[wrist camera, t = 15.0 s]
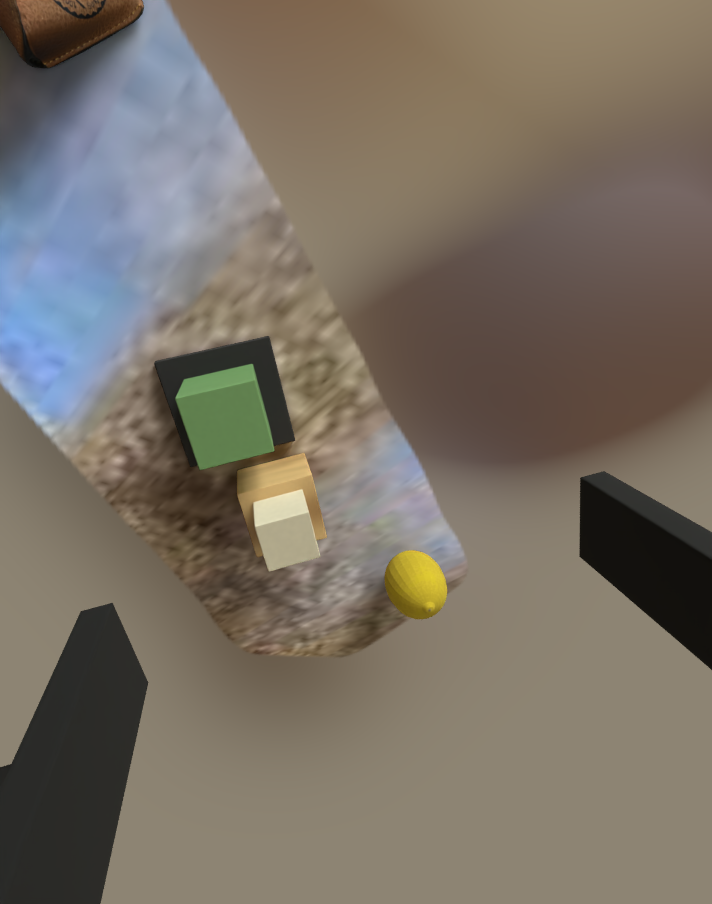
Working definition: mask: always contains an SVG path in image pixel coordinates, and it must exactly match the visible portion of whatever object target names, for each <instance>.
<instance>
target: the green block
mask: <svg viewBox="0 0 712 904" xmlns="http://www.w3.org/2000/svg"><path fill="white" fill-rule="evenodd" d="M175 400H176V403H177V406H178V409H179V412H180V415H181V418H182V421H183V423H184V426H185V429H186V432H187V435H188V438H189V441H190V444H191V447H192V450H193V453H194V456H195V459H196V461H197V464H198V467H199V470H203V469H207V468H211V467H215V466H219V465H223V464H227V463H231V462H235V461H239V460H243V459H246V458H250V457H254V456H258V455H262V454H266V453H270V452H274V445H273V440H272V435H271V430H270V426H269V422H268V418H267V414H266V411H265V407H264V403H263V400H262V396H261V392H260V389H259V385H258V381H257V377H256V374H255V370H254V366H253V364H249V365H244V366H240V367H236V368H231V369H227V370H223V371H218V372H214V373H210V374H205V375H201V376H197V377H192V378H188V379H184V380H183V383H182V385H181V387H180V389H179V391H178V393H177V396H176V398H175Z"/></svg>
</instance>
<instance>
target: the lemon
mask: <svg viewBox="0 0 712 904" xmlns="http://www.w3.org/2000/svg"><path fill="white" fill-rule="evenodd" d="M385 588H386V591H387V593H388V596H389V598H390V600H391V602H392V603H393V604H394V605H395V607H396V608H397V609H398V610H399V611H400V612H401V613H403V614H404V615H406V616H408V617H410V618H414V619H426V618H429V617H432V616H433V615H435V614H436V613H438V612H439V611H440V609H441V608H442V606H443V605H444V603H445V601H446V596H447V586H446V581H445V577H444V575H443V573H442V571H441V569H440V567H439V565H438V564H437V563H436V562H435V561H434V560H433V559H432V558H431V557H430V556H428V555H426V554H425V553H423V552H419V551H414V550H411V551H405V552H402V553H399V554H397V555H396V556H395V557H394V558H393V559H392V560H391V561H390V562H389V564H388V566H387V568H386V572H385Z"/></svg>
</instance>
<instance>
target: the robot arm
mask: <svg viewBox="0 0 712 904" xmlns="http://www.w3.org/2000/svg"><path fill="white" fill-rule="evenodd" d="M580 479H581V480H580V482H581V483H580V557H581V558H582V559H583V560H584V561H586V562H587V563H588V564H589V565H590V566H591V567H592V568H594V569H595V570H596V571H597V572H598V573H600V574H601V575H602V576H603V577H604V578H605V579H607V580H608V581H609V582H610V583H611V584H613V586H615V587H616V588H617V589H618V590H619V591H620V592H622V593H623V594H624V595H625V596H626V597H628V598H629V599H630V600H631V601H632V602H633V603H634V604H636V605H637V606H638V607H639V608H640V609H641V610H643V611H644V612H645V613H646V614H647V615H648V616H650V617H651V618H652V619H653V620H654V621H655V622H657V623H658V624H659V625H660V626H661V627H663V628H664V629H665V630H666V631H667V632H668V633H670V634H671V635H672V636H673V637H674V638H675V639H677V640H678V641H679V642H680V643H681V644H682V645H684V646H685V647H686V648H687V649H688V650H689V651H690V652H692V653H693V654H694V655H695V656H697V658H699V659H700V660H701V661H702V662H703V663H704V664H706V665H707V666H708V667H709V668H710V669H711V670H712V532H710V531H708V530H707V529H705V528H703V527H702V526H700V525H698V524H696V523H695V522H693V521H691V520H689V519H687V518H686V517H684V516H682V515H680V514H679V513H677V512H675V511H673V510H671V509H670V508H668V507H666V506H665V505H662V504H661V503H659V502H657V501H656V500H654V499H652V498H650V497H648V496H647V495H645V494H643V493H641V492H640V491H638V490H636V489H634V488H633V487H631V486H629V485H627V484H626V483H624V482H622V481H620V480H619V479H617V478H615V477H613V476H611V475H610V474H608V473H606V472H600V473H596V474H592V475H589V476H585V477H581V478H580ZM147 686H148V681H147V679H146V677H145V675H144V672H143V670H142V668H141V665H140V663H139V661H138V659H137V657H136V654H135V652H134V650H133V648H132V645H131V643H130V641H129V639H128V636H127V634H126V632H125V630H124V627H123V625H122V623H121V621H120V619H119V616H118V614H117V612H116V610H115V607H114V605H113V603H110V604H107V605H103V606H99V607H95V608H92V609H88V610H84V611H81V612H80V615H79V617H78V619H77V621H76V623H75V625H74V628H73V630H72V632H71V634H70V636H69V639H68V641H67V643H66V645H65V648H64V650H63V652H62V654H61V656H60V658H59V661H58V663H57V665H56V667H55V669H54V672H53V674H52V676H51V679H50V681H49V683H48V685H47V687H46V689H45V691H44V694H43V696H42V698H41V700H40V702H39V705H38V707H37V709H36V711H35V714H34V716H33V718H32V720H31V722H30V724H29V727H28V729H27V731H26V733H25V735H24V738H23V740H22V742H21V744H20V747H19V749H18V751H17V753H16V755H15V757H14V760H13V762H12V764H10V765H7V766H4V767H0V904H100V903H101V898H102V893H103V889H104V885H105V879H106V875H107V871H108V866H109V862H110V857H111V852H112V848H113V843H114V838H115V833H116V829H117V825H118V820H119V815H120V811H121V806H122V801H123V797H124V792H125V788H126V783H127V778H128V773H129V769H130V764H131V760H132V755H133V750H134V746H135V741H136V736H137V732H138V727H139V723H140V718H141V713H142V709H143V704H144V700H145V695H146V690H147Z"/></svg>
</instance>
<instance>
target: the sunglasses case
mask: <svg viewBox="0 0 712 904" xmlns="http://www.w3.org/2000/svg"><path fill="white" fill-rule="evenodd" d="M143 9H144V5H143V1H142V0H0V26H1V28H2V29H3V31H4V32H5V34H6V35H7V37H8V38H9V40H10V41H11V42H12V44H13V46H14V47H15V48H16V50H17V52H18V54H19V55H20V57H21V58H22V59H23V60H24V61H25V62H26V63H27V64H29V65H30V66H32V67H38V68H51V67H53V66H56V65H58V64H60V63H62V62H64V61H66V60H68V59H70V58H72V57H74V56H76V55H78V54H80V53H82V52H84V51H86V50H87V49H89V48H91V47H93V46H94V45H96V44H98V43H100V42H102V41H103V40H105V39H107V38H108V37H110V36H112V35H113V34H115V33H116V32H118V31H119V30H121V29H123V28H125V27H127V26H129V25H130V24H132V23H134V22H135V21H136V20H137V19H139V17H140V16H141V15H142V13H143Z"/></svg>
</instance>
